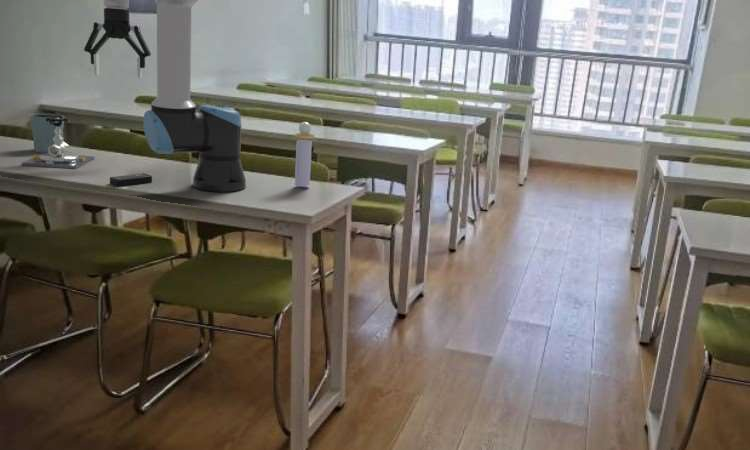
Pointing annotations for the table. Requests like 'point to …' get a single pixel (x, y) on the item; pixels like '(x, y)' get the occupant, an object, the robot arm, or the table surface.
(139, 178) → the multiport hub
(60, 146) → the valve
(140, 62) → the robot arm
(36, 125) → the blue-grey cup
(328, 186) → the table surface
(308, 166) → the perfume bottle
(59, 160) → the lock plate
